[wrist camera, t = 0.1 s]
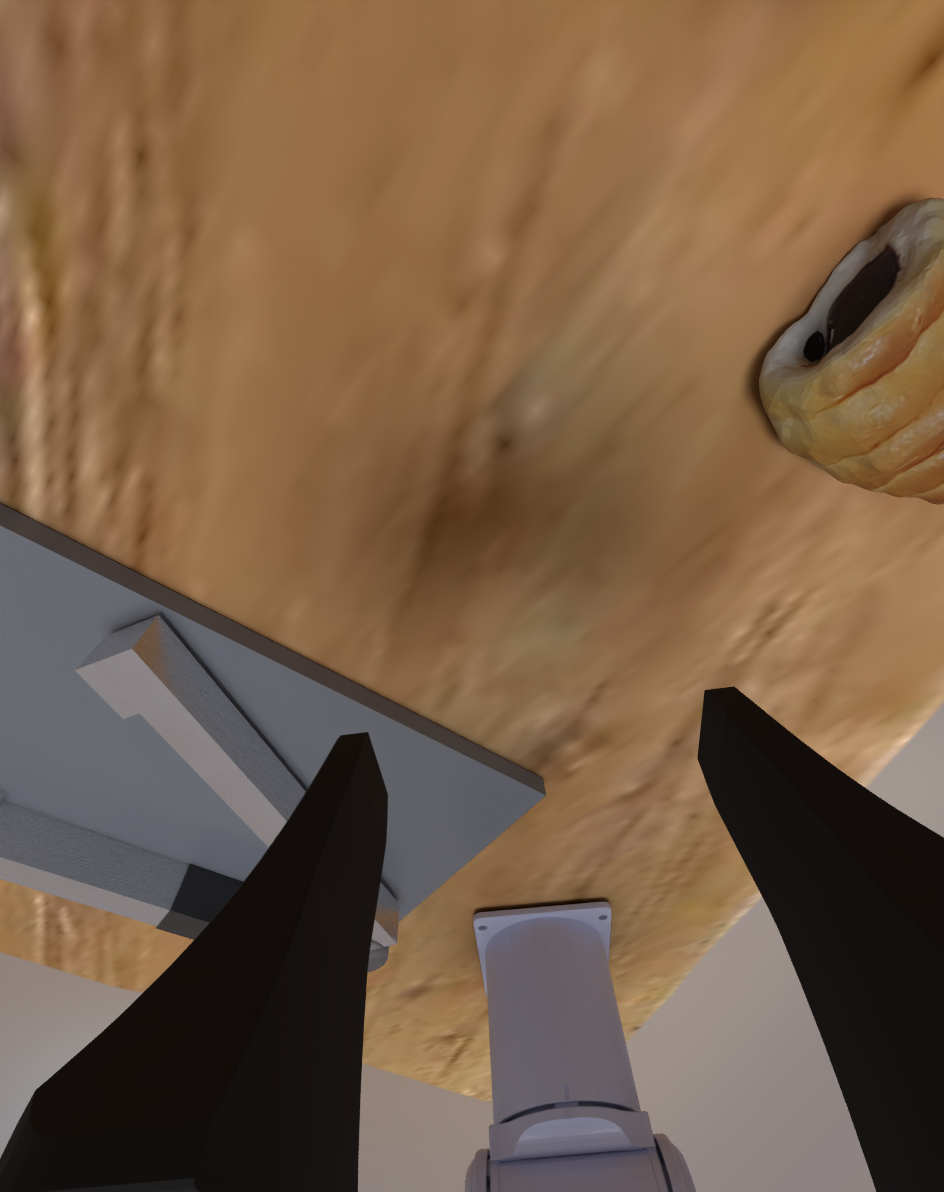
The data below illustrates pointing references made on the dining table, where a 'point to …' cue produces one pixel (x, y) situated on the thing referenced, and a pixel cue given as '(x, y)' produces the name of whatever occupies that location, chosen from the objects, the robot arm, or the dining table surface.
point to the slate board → (259, 692)
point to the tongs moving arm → (208, 737)
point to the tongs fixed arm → (108, 872)
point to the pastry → (870, 364)
